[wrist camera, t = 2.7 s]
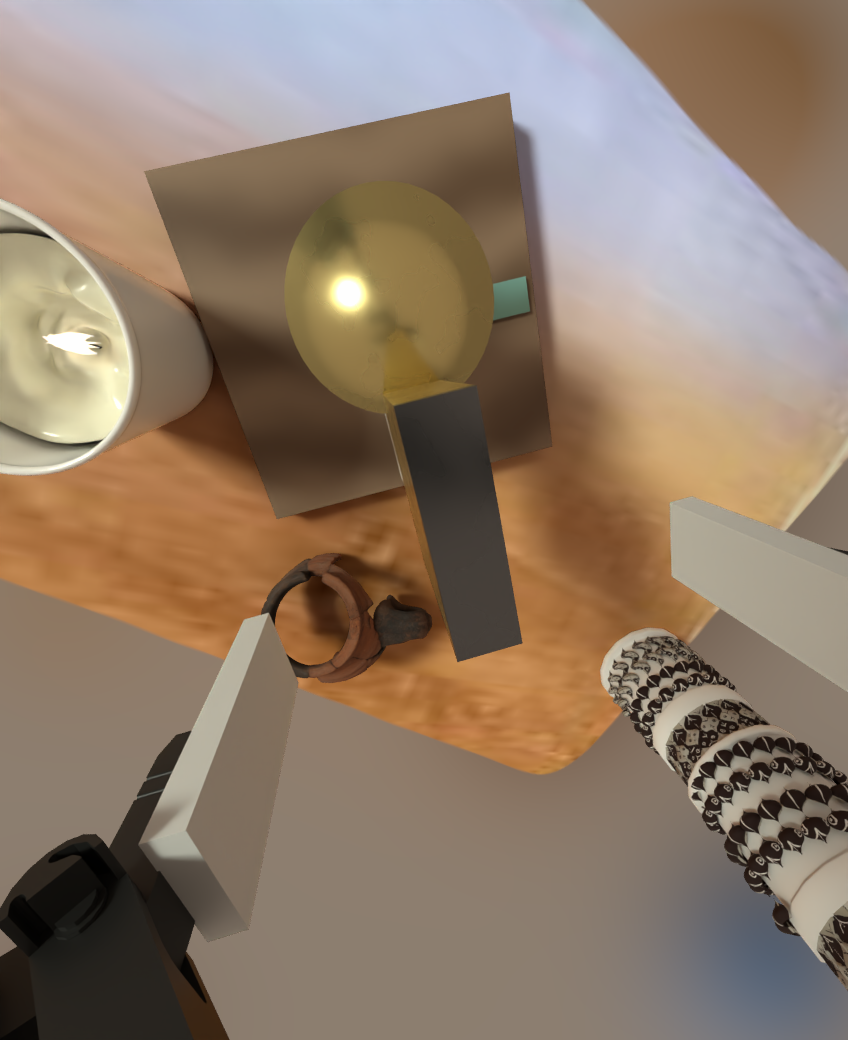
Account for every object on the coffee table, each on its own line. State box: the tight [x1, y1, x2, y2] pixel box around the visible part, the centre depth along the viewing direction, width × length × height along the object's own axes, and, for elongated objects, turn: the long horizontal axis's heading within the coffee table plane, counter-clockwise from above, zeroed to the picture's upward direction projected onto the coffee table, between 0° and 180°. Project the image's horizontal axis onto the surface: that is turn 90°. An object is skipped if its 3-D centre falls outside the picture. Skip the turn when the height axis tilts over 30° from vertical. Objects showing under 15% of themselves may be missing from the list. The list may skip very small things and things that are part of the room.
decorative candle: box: [600, 627, 848, 991], centre depth 30 cm, size 9×9×25 cm
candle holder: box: [0, 198, 213, 476], centre depth 21 cm, size 10×10×12 cm
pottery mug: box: [261, 553, 432, 683], centre depth 32 cm, size 12×10×8 cm
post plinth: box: [144, 93, 552, 519], centre depth 24 cm, size 20×20×10 cm
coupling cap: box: [284, 181, 522, 662], centre depth 16 cm, size 16×8×8 cm, turn 13°
